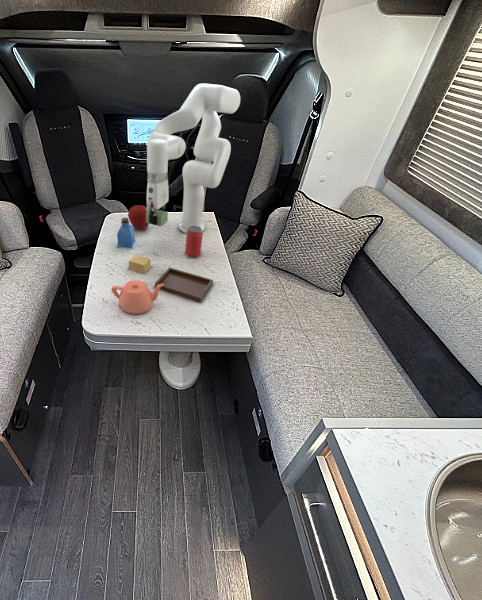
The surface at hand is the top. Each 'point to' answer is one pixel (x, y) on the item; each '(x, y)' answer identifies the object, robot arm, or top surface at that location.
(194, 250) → the beer can
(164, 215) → the green block
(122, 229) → the perfume bottle
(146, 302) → the teapot
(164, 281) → the brown tray
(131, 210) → the apple
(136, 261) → the yellow rectangular block
